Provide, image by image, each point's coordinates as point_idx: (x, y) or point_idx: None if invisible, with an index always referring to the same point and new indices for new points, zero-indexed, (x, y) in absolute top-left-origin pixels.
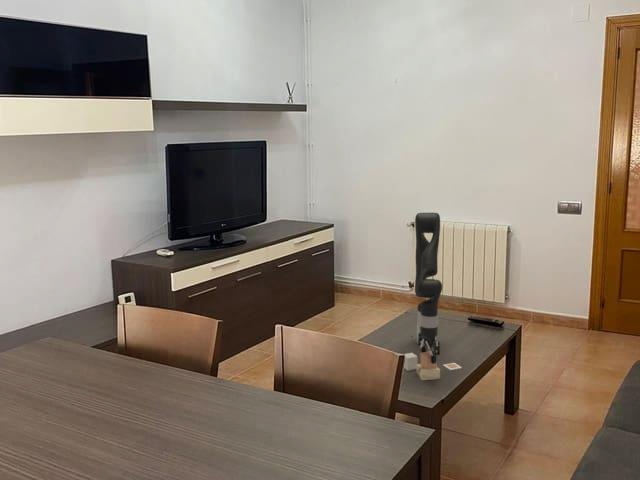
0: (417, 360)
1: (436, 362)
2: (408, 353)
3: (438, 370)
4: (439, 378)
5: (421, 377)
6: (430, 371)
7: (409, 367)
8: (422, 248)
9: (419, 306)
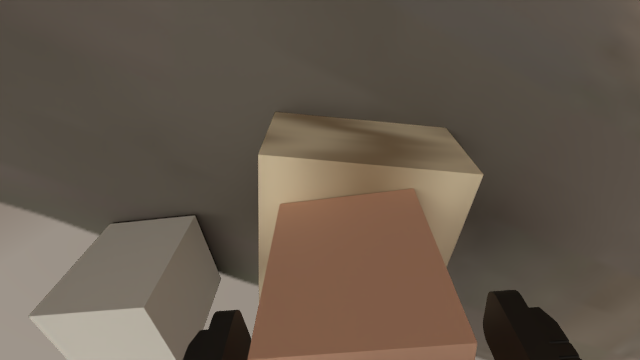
0: (163, 271)
1: (431, 233)
2: (58, 344)
3: (473, 187)
4: (446, 134)
5: None
6: (445, 255)
7: (209, 286)
8: None
9: None
